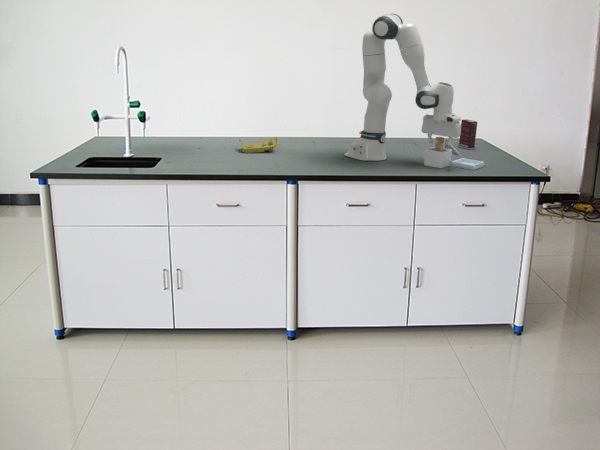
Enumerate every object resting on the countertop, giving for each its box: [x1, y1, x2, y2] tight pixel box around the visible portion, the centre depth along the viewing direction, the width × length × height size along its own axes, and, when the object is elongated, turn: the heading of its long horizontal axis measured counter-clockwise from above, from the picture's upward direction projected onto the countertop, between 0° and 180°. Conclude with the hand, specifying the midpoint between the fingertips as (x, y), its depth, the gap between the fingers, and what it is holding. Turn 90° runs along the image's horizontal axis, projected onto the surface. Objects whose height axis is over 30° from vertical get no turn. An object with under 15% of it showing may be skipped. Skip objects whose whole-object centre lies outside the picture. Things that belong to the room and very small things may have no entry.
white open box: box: [423, 146, 453, 169], centre depth 304 cm, size 10×10×8 cm
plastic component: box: [240, 136, 279, 154], centre depth 326 cm, size 20×7×10 cm
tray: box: [450, 157, 485, 171], centre depth 304 cm, size 12×12×2 cm
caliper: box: [444, 138, 462, 157], centre depth 336 cm, size 20×1×6 cm, turn 10°
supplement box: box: [458, 119, 478, 150], centre depth 346 cm, size 9×5×16 cm, turn 25°
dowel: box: [434, 136, 445, 152], centre depth 303 cm, size 4×4×14 cm
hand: (439, 144), depth 302 cm, fingers open, 8 cm apart
